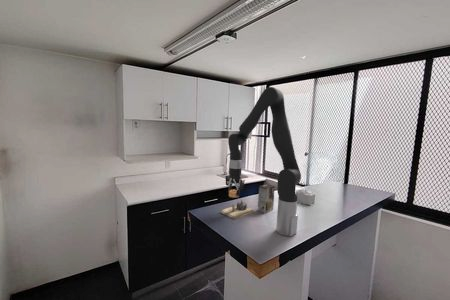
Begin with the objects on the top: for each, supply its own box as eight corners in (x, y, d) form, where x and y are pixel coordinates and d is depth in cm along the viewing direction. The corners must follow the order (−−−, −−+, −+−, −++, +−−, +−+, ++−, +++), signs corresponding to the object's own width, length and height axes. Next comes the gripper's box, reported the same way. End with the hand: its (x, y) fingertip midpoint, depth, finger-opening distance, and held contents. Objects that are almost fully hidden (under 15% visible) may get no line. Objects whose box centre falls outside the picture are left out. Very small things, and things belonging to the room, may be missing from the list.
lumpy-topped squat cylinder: (309, 205, 149) (310, 193, 148) (292, 200, 159) (293, 189, 158) (315, 202, 156) (316, 191, 155) (299, 197, 166) (300, 187, 165)
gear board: (253, 211, 134) (254, 201, 134) (234, 219, 123) (235, 207, 122) (239, 206, 143) (239, 196, 142) (220, 212, 131) (221, 201, 131)
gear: (241, 196, 129) (241, 191, 129) (233, 198, 125) (234, 193, 124) (233, 193, 133) (233, 189, 133) (226, 195, 129) (226, 190, 129)
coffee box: (265, 207, 144) (266, 183, 142) (273, 209, 139) (275, 185, 137) (257, 210, 137) (258, 185, 135) (265, 213, 133) (267, 188, 131)
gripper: (248, 168, 125) (247, 196, 126) (231, 164, 135) (229, 190, 137) (240, 169, 119) (238, 198, 121) (222, 165, 130) (221, 192, 132)
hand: (233, 194), depth 129 cm, fingers closed on gear, 6 cm apart
